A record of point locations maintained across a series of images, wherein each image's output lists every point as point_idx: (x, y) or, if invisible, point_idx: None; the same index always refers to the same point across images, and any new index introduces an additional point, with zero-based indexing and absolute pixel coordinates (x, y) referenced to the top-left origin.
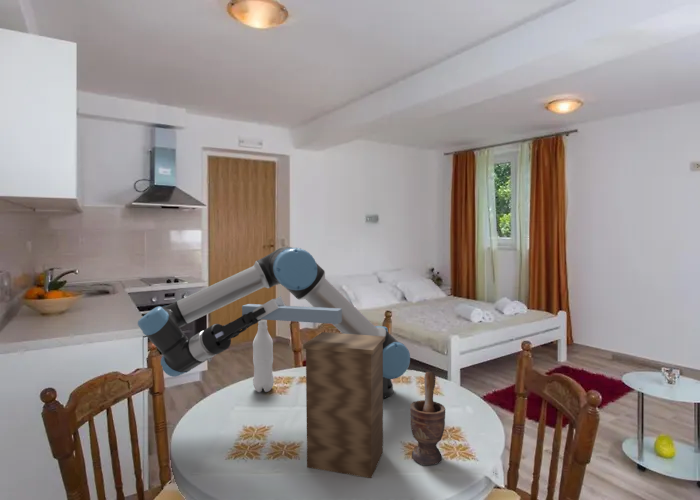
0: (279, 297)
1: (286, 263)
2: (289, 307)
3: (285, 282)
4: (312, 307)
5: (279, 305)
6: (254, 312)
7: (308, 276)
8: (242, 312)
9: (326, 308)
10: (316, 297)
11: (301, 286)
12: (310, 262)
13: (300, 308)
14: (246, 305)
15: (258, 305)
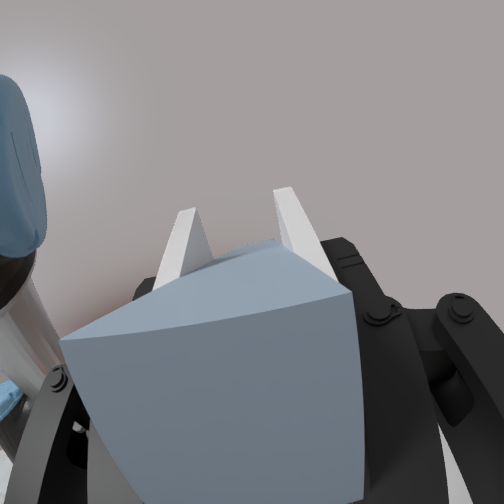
0: (197, 212)
1: (13, 109)
2: (260, 247)
3: (13, 197)
4: (239, 248)
5: (208, 262)
6: (374, 282)
7: (40, 198)
8: (362, 428)
9: (247, 245)
10: (25, 299)
11: (40, 233)
12: (36, 151)
13: (269, 243)
14: (265, 292)
15: (225, 273)
